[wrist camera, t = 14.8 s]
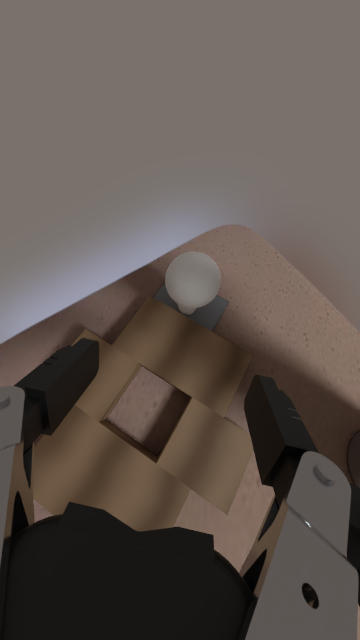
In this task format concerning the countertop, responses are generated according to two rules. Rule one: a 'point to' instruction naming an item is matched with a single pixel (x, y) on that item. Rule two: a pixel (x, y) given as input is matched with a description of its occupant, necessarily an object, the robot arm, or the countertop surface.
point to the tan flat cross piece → (128, 455)
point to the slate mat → (201, 315)
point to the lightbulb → (192, 281)
